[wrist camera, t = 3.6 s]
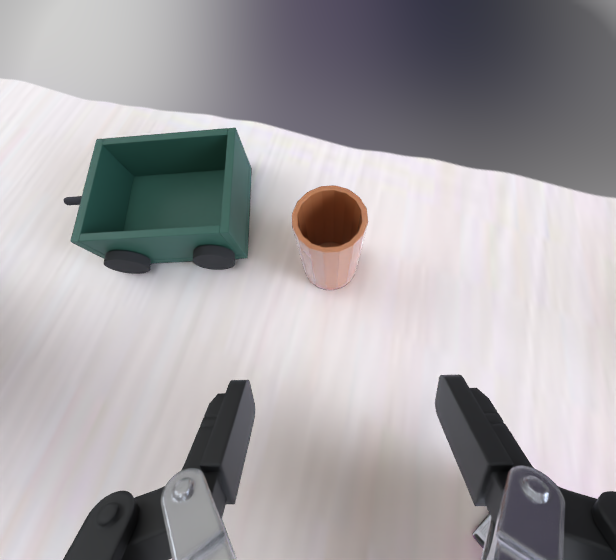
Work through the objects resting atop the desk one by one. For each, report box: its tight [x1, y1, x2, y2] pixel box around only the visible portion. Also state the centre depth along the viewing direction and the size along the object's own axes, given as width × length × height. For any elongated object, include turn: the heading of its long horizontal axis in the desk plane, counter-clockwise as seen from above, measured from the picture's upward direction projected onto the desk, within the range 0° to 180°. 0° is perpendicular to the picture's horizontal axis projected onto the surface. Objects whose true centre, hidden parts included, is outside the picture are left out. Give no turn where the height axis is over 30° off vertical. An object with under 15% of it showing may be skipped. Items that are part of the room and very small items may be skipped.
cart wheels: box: [64, 196, 235, 274], centre depth 31 cm, size 18×14×4 cm
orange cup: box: [292, 186, 368, 290], centre depth 25 cm, size 5×5×10 cm
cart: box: [71, 128, 251, 263], centre depth 30 cm, size 15×12×6 cm
